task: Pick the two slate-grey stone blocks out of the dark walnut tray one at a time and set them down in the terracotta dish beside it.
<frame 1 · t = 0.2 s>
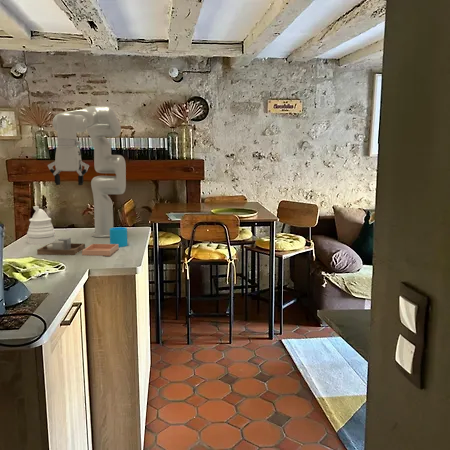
hand: (69, 184, 192), 30 cm above the countertop, tool pointing down, fingers open, 9 cm apart
stone 2: (58, 252, 198), resting on tray a
honey pot: (41, 243, 222), on the countertop
pebble: (50, 251, 202), resting on tray a
mug: (119, 245, 219), on the countertop
tray a: (62, 252, 201), on the countertop
stone 1: (65, 249, 205), resting on tray a
tray b: (100, 252, 201), on the countertop
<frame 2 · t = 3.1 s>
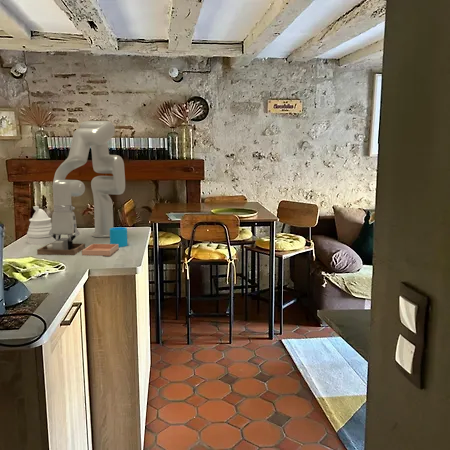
hand: (65, 248, 205), 1 cm above the countertop, tool pointing down, fingers closed on stone 1, 4 cm apart
stone 1: (65, 249, 205), resting on tray a, touching gripper
everything else where it was.
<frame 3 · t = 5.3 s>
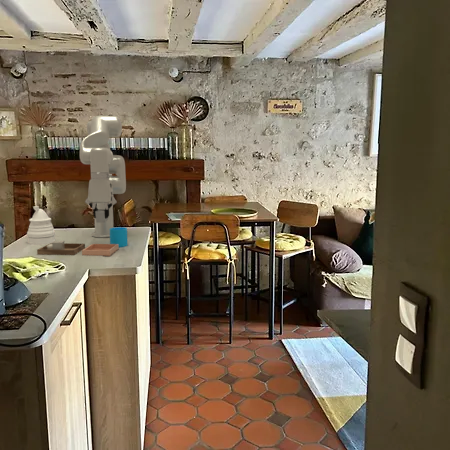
hand: (101, 217, 201), 15 cm above the countertop, tool pointing down, fingers closed on stone 1, 3 cm apart
stone 1: (102, 221, 202), point 14 cm above the countertop, tilted 8°, touching gripper
everything else where it was.
when the fingers open (3 cm above the countertop, at t = 7.6 s): stone 1 stays where it is, resting on tray b.
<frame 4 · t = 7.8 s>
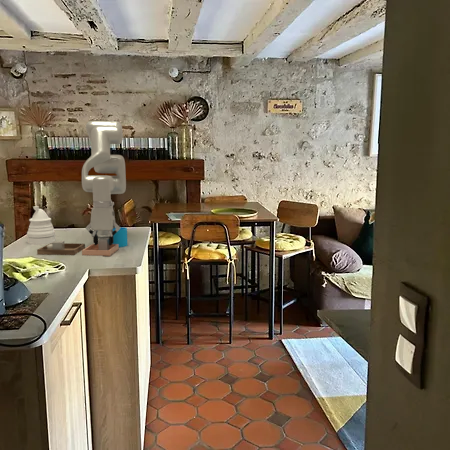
hand: (103, 244, 203), 3 cm above the countertop, tool pointing down, fingers open, 6 cm apart
stone 1: (104, 249, 204), resting on tray b
everything else where it was.
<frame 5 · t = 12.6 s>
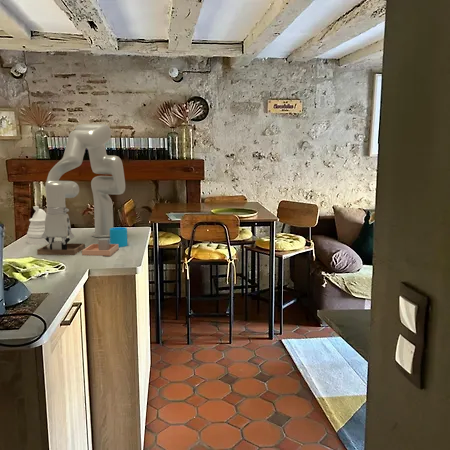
hand: (58, 252, 198), 1 cm above the countertop, tool pointing down, fingers closed on stone 2, 4 cm apart
stone 2: (58, 252, 198), resting on tray a, touching gripper
everything else where it was.
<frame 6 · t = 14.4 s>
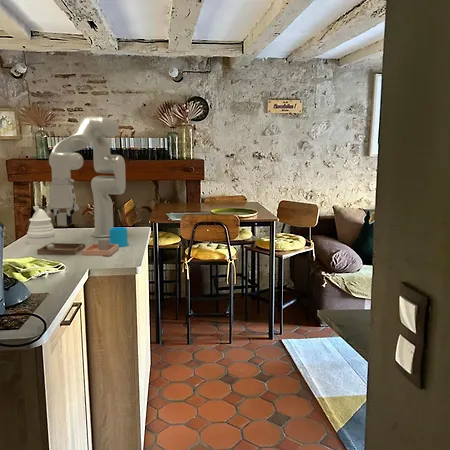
hand: (63, 224, 196), 13 cm above the countertop, tool pointing down, fingers closed on stone 2, 4 cm apart
stone 2: (63, 224, 196), point 13 cm above the countertop, touching gripper
everything else where it was.
when the fingers open (3 cm above the countertop, at t = 16.5 s): stone 2 drops 2 cm, resting on tray b.
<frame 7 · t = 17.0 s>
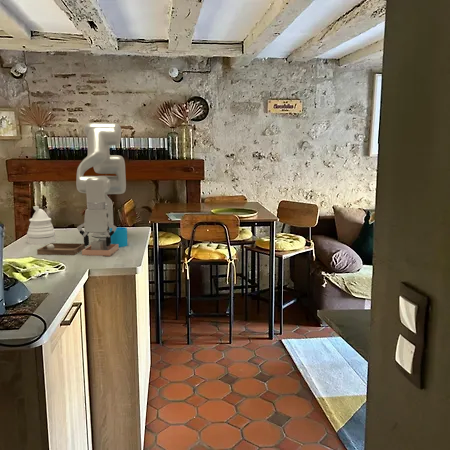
hand: (97, 245, 198), 4 cm above the countertop, tool pointing down, fingers open, 9 cm apart
stone 2: (97, 252, 198), resting on tray b
everything else where it was.
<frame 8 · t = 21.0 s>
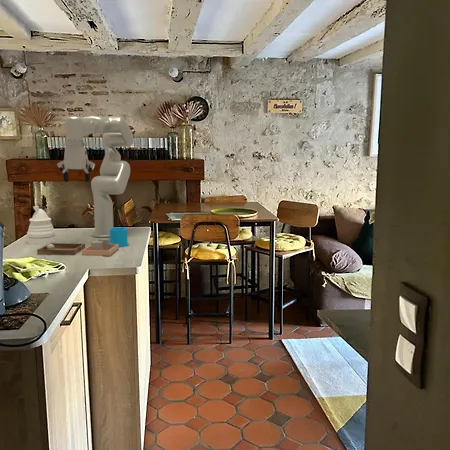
hand: (76, 181, 210), 30 cm above the countertop, tool pointing down, fingers open, 9 cm apart
nothing on the countertop moved.
at the end: stone 1 inside the target area on the tray b (3.4 cm from its centre), point 0.5 cm above the tray b's base; stone 2 inside the target area on the tray b (2.8 cm from its centre), point 0.5 cm above the tray b's base; the gripper is holding nothing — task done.
